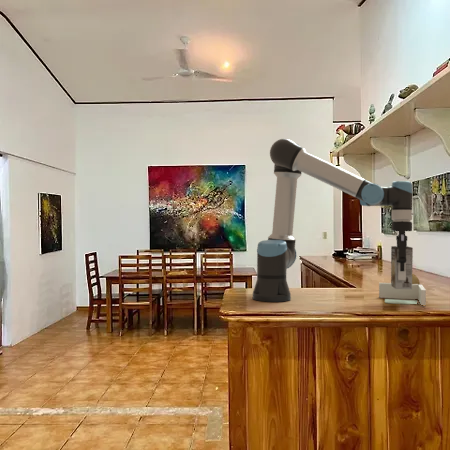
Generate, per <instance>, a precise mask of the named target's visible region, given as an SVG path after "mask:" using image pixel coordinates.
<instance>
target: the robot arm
mask: <svg viewBox="0 0 450 450" xmlns="http://www.w3.org/2000/svg"><path fill="white" fill-rule="evenodd" d="M269 156H270V160H271V161H272V163H273V164H274V167H273V174H274V175H275V176H276V185H275V197H274V208H273V220H272V231H271V234H269V236H268V237H267V239H266V240H265V239H264V240H261V241H259V242H258V243H257V249H256V252H257V254H256V255H257V257H256V259H257V260H256V262H257V263H256V268H257V269H256V272H257V273H256V282H255V285H254V288H253V292H252V300H254V301H258V302H270V303H272V302H273V303H275V302H276V303H280V302H288V301H291V299H292V297H291V296H292V295H291V290H290V287H289V285H288V282H287V269H289V268H291V267H292V266H293V265H294V264H295V262H296V260H297V250H296V241H297V239H296V238H295V237H294V235H293V234H294V233H293V231H294V219H295V209H296V208H295V207H296V198H297V197H296V196H297V188H298V187H297V186H298V179H299V178H301V177H302V173H303V174H305V175H308V176H309V177H312V178H314V179H316V180H317V181H320V182H322V183H324V184H326V185H328V186H331V187H333V188H335V189H338V191H341V192H344V193H345V194H348V195H350V196H352V197H354V198H356V199H358V200H359V203H360V205H361V206H363V207H382V206H383V207H386V206H387V207H391V220H392V221H391V231H392V232H398V234H397V235H396V237H395V239H396V246H398V247H399V260H397V263H398V280H406V247H407V246H408V245H407V244H408V236H407V235H406V232H412V231H413V222H412V221H413V216H414V215H415V213H414V212H413V194H414V193H413V192H414V191H413V184H412V182H411V181H409V180H400V181H399V180H397V181H396V180H395V181H392V183H391V186H381V185H379V184H377V183H376V182H375V183H373V182H371V181H369V180H367V179H365V178H363V177H360V176H358V175H356V174H354V173H352V172H350V171H348V170H346V169H344V168H342V167H339V166H336V165H335V164H333V163H330V162H328V161H326V160H324V159H322V158H319V157H318V156H316V155H313V154H310V153H308V152H307V151H306V148H305V147H302V146H300V145H299V144H298V143H296V142H294V141H293V140H291V139H289V138H281V139H278V140H276V141H275V142H273V144H272V145H271V147H270V150H269Z"/></svg>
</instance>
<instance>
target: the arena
mask: <svg viewBox="0 0 450 450" xmlns="http://www.w3.org/2000/svg"><path fill="white" fill-rule="evenodd" d="M426 294H427V289H426V288H425V287H424V286H423V284H412V289H395V288H394V287H392V286H391V282H378V298H380V299H395V300H415V299H418V300H419V301H418V300H417V301H418V303H419V302H420V303H419V304H421V305H427V303H426V302H427V297H426V296H427V295H426ZM421 305H420V306H421Z"/></svg>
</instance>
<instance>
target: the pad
mask: <svg viewBox="0 0 450 450" xmlns="http://www.w3.org/2000/svg"><path fill="white" fill-rule="evenodd" d="M417 302H418V300H415V299H396V298H384V303H385V304H394V305H395V304H396V305H398V304H399V305H410V304H417Z"/></svg>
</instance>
